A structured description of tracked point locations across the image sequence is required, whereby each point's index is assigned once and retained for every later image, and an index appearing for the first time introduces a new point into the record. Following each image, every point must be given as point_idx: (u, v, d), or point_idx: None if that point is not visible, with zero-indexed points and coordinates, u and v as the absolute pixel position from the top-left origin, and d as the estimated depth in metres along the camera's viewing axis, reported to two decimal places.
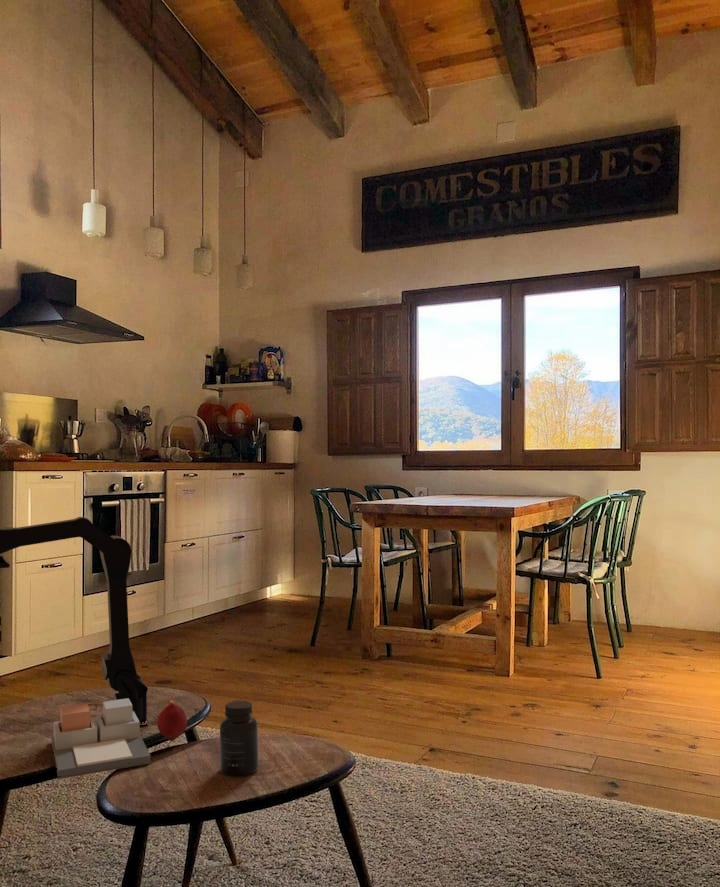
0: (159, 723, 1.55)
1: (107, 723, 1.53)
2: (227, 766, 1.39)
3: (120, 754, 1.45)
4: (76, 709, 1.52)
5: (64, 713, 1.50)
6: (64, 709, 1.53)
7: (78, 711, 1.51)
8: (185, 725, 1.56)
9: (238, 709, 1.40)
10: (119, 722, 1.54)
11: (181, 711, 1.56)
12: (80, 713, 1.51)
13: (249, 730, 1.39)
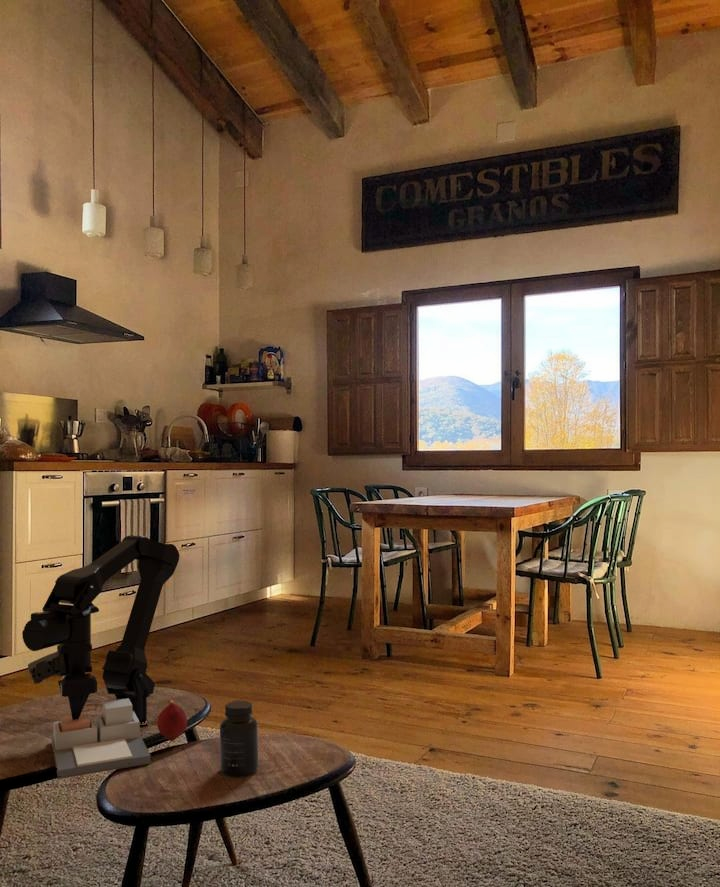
0: (159, 723, 1.55)
1: (107, 723, 1.53)
2: (227, 766, 1.39)
3: (120, 754, 1.45)
4: (76, 719, 1.52)
5: (64, 723, 1.50)
6: (64, 719, 1.53)
7: (78, 721, 1.51)
8: (185, 725, 1.56)
9: (238, 709, 1.40)
10: (119, 722, 1.54)
11: (181, 711, 1.56)
12: (80, 723, 1.51)
13: (249, 730, 1.39)
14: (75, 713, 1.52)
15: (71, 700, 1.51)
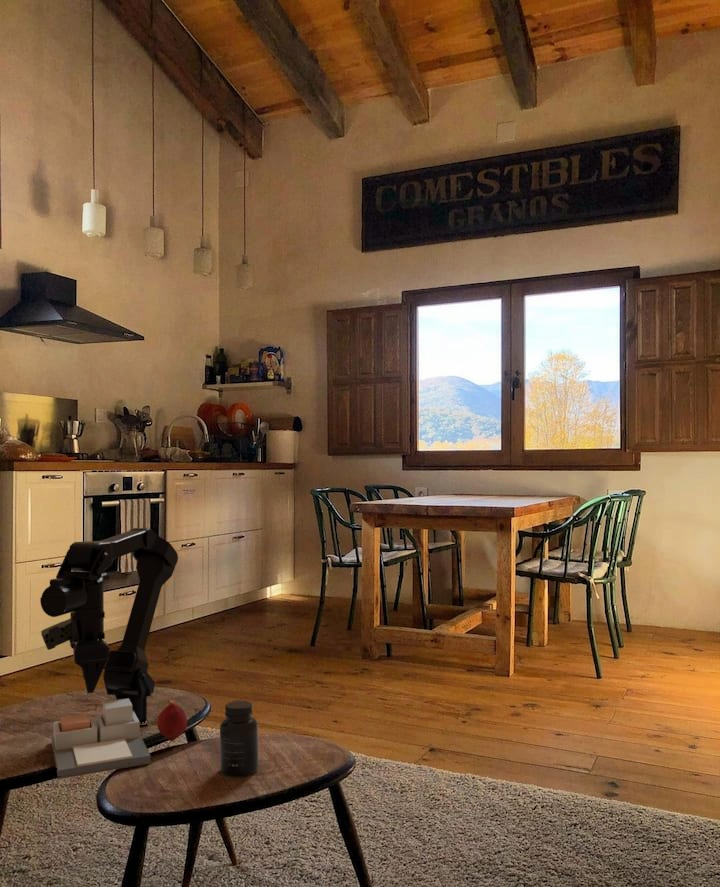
0: (159, 723, 1.55)
1: (107, 723, 1.53)
2: (227, 766, 1.39)
3: (120, 754, 1.45)
4: (76, 720, 1.52)
5: (64, 723, 1.50)
6: (64, 719, 1.53)
7: (78, 721, 1.51)
8: (185, 725, 1.56)
9: (238, 709, 1.40)
10: (119, 722, 1.54)
11: (181, 711, 1.56)
12: (80, 723, 1.51)
13: (249, 730, 1.39)
14: (90, 686, 1.49)
15: (86, 672, 1.48)
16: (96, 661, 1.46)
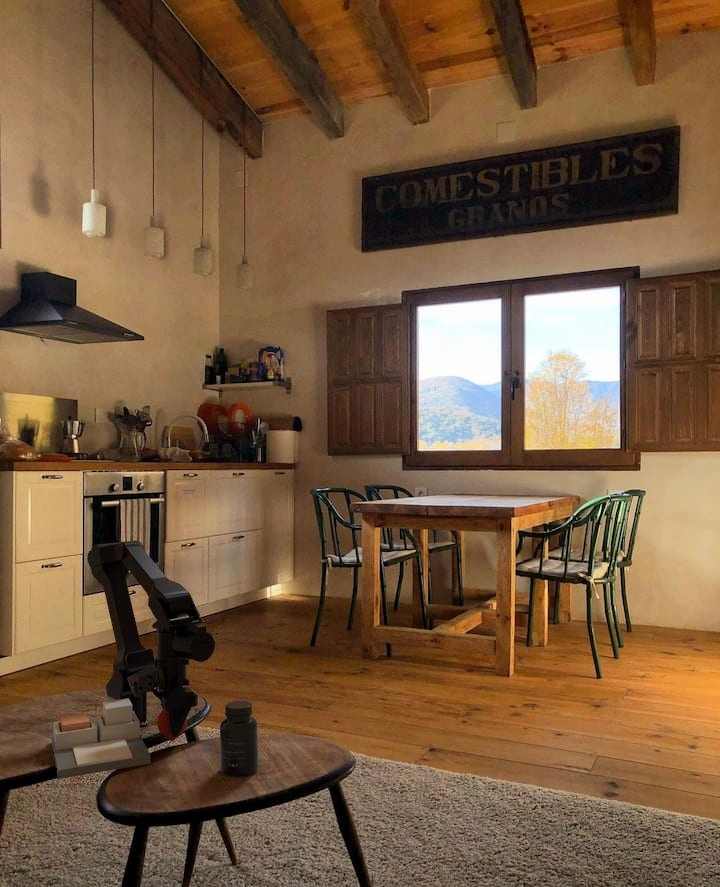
0: (159, 723, 1.55)
1: (107, 723, 1.53)
2: (227, 766, 1.39)
3: (120, 754, 1.45)
4: (76, 720, 1.52)
5: (64, 723, 1.50)
6: (64, 719, 1.53)
7: (78, 721, 1.51)
8: (185, 725, 1.56)
9: (238, 709, 1.40)
10: (119, 722, 1.54)
11: None
12: (80, 723, 1.51)
13: (249, 730, 1.39)
14: (175, 730, 1.53)
15: (172, 717, 1.52)
16: None
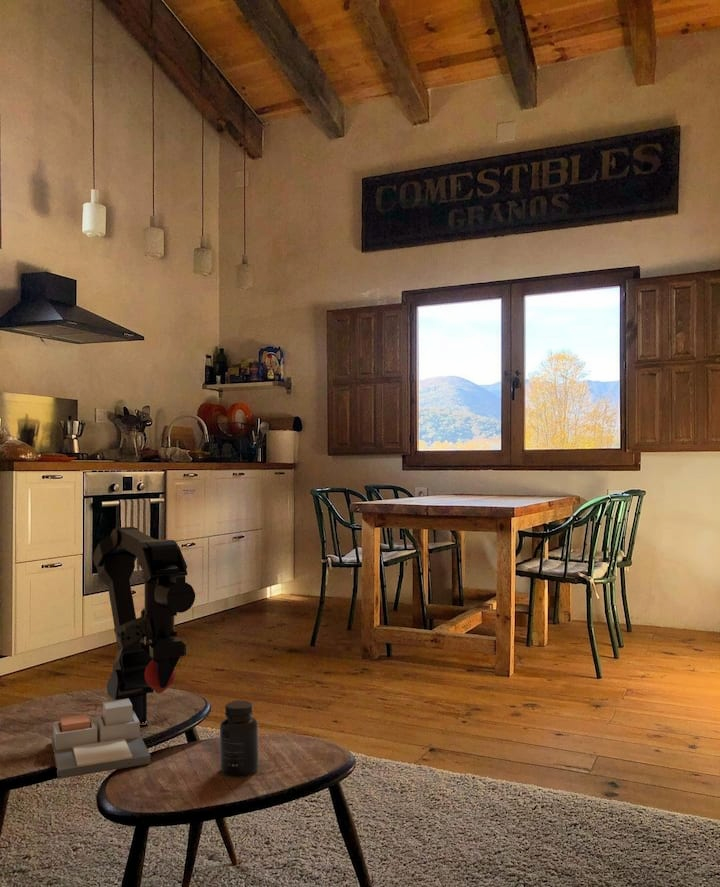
0: (146, 675, 1.53)
1: (107, 723, 1.53)
2: (227, 766, 1.39)
3: (120, 754, 1.45)
4: (76, 720, 1.52)
5: (64, 723, 1.50)
6: (64, 719, 1.53)
7: (78, 721, 1.51)
8: (173, 677, 1.54)
9: (238, 709, 1.40)
10: (119, 722, 1.54)
11: None
12: (80, 723, 1.51)
13: (249, 730, 1.39)
14: (163, 681, 1.51)
15: (160, 667, 1.50)
16: (171, 656, 1.49)
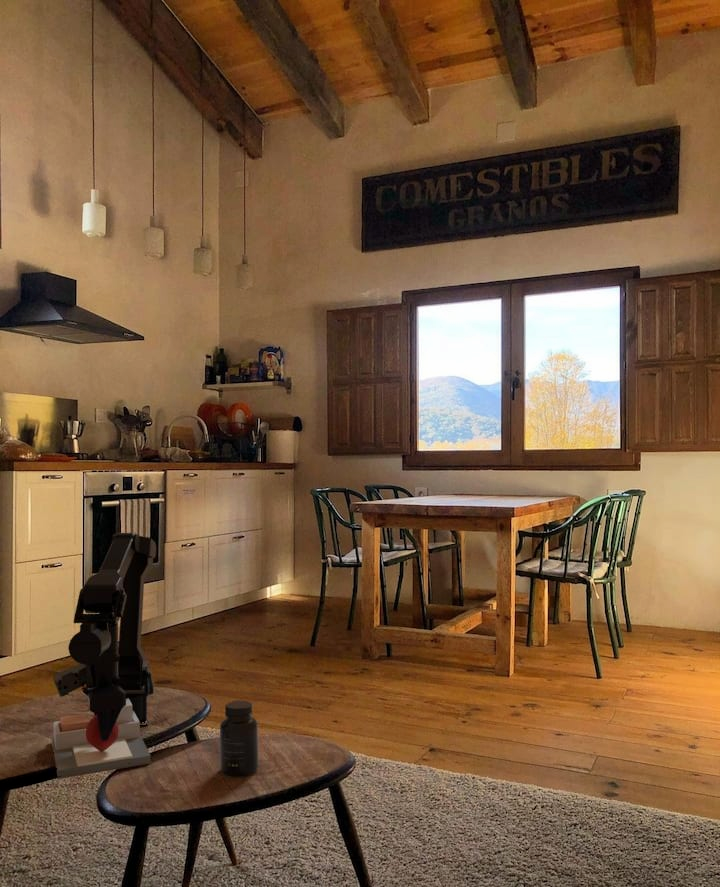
0: (87, 733, 1.44)
1: None
2: (227, 766, 1.39)
3: (120, 754, 1.45)
4: (76, 720, 1.52)
5: (64, 723, 1.50)
6: (64, 719, 1.53)
7: (78, 721, 1.51)
8: (116, 735, 1.45)
9: (238, 709, 1.40)
10: (119, 722, 1.54)
11: None
12: (80, 723, 1.51)
13: (249, 730, 1.39)
14: (104, 733, 1.42)
15: (100, 719, 1.41)
16: (112, 708, 1.40)
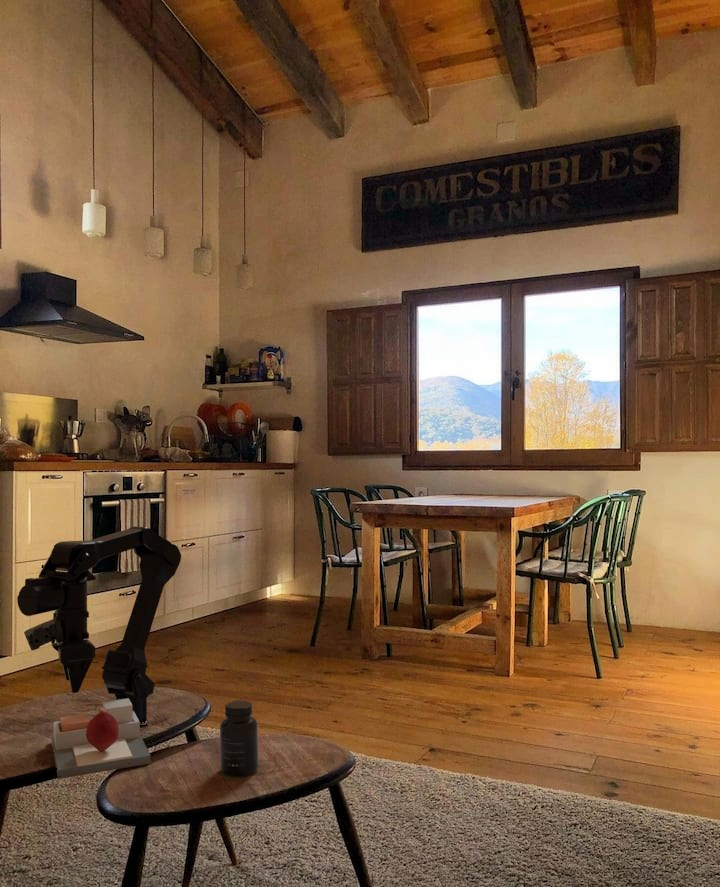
0: (88, 733, 1.44)
1: None
2: (227, 766, 1.39)
3: (120, 754, 1.45)
4: (76, 720, 1.52)
5: (64, 723, 1.50)
6: (64, 719, 1.53)
7: (78, 721, 1.51)
8: (116, 735, 1.46)
9: (238, 709, 1.40)
10: (119, 722, 1.54)
11: (112, 720, 1.46)
12: (80, 723, 1.51)
13: (249, 730, 1.39)
14: (75, 686, 1.49)
15: (71, 672, 1.48)
16: (82, 661, 1.47)
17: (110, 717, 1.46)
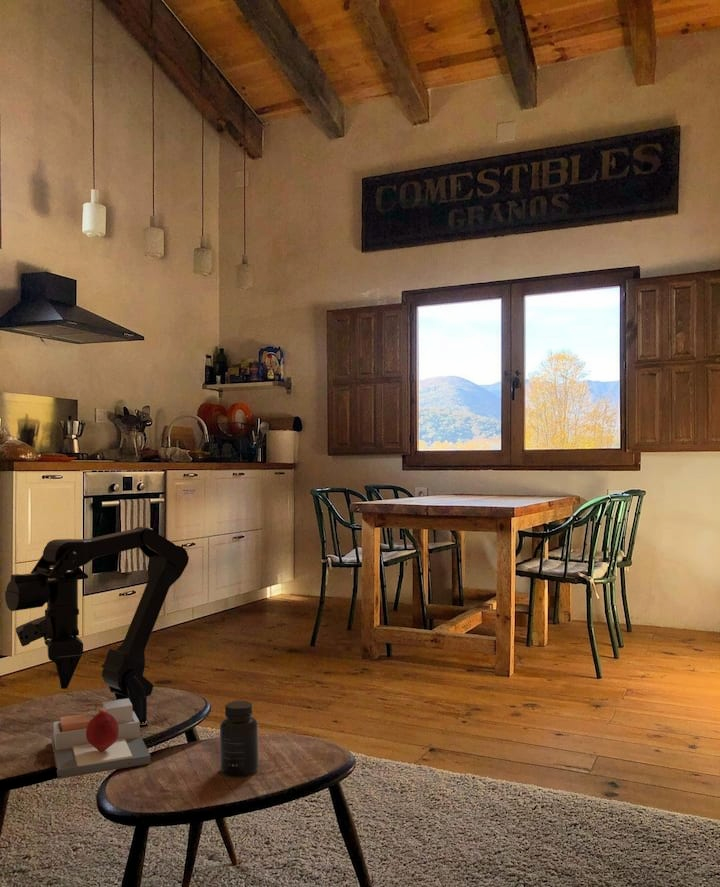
0: (87, 733, 1.44)
1: None
2: (227, 766, 1.39)
3: (120, 754, 1.45)
4: (76, 720, 1.52)
5: (64, 723, 1.50)
6: (64, 719, 1.53)
7: (78, 721, 1.51)
8: (116, 735, 1.46)
9: (238, 709, 1.40)
10: (119, 722, 1.54)
11: (112, 720, 1.46)
12: (80, 723, 1.51)
13: (249, 730, 1.39)
14: (64, 682, 1.51)
15: (60, 668, 1.50)
16: (70, 657, 1.49)
17: (110, 717, 1.46)
